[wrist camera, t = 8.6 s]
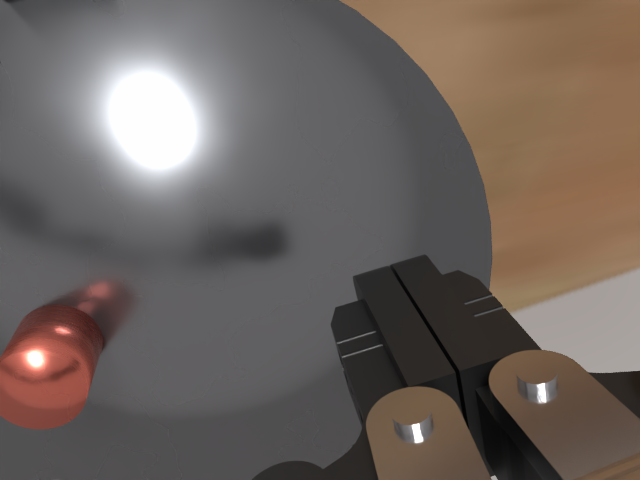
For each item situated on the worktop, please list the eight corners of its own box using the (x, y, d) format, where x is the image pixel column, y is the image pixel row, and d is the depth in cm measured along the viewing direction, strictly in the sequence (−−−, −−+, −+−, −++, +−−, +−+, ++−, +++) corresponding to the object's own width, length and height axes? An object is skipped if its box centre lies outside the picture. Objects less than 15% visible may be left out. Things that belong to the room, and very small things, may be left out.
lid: (-502, -136, 11) (-782, -175, 8) (401, -349, 11) (465, -461, 8) (-4, 568, 19) (-46, 679, 16) (499, 423, 20) (548, 505, 17)
